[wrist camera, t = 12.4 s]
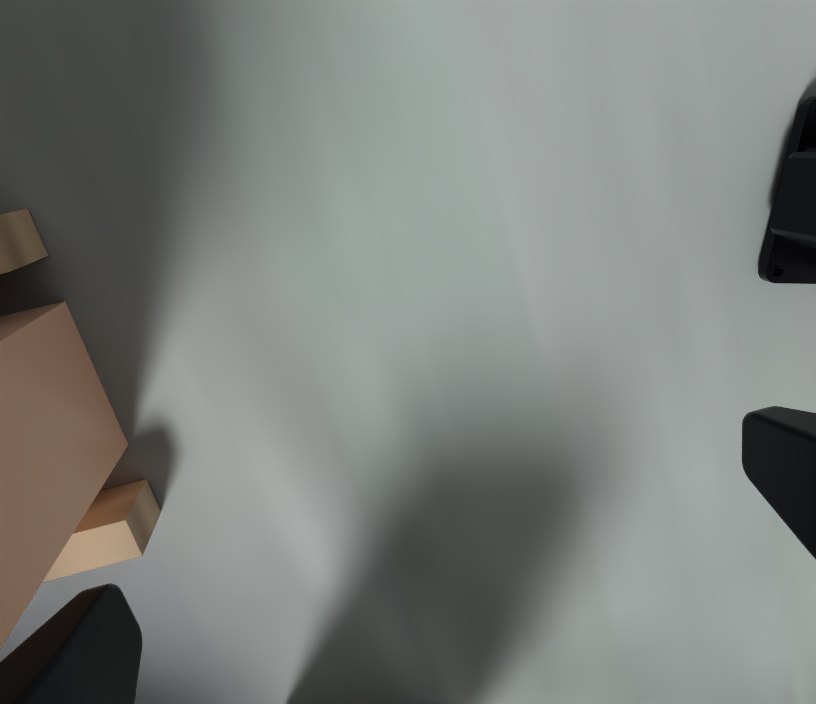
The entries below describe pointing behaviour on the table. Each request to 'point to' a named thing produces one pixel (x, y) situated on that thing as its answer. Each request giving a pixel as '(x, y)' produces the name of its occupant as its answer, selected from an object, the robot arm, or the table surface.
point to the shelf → (112, 508)
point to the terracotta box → (47, 447)
